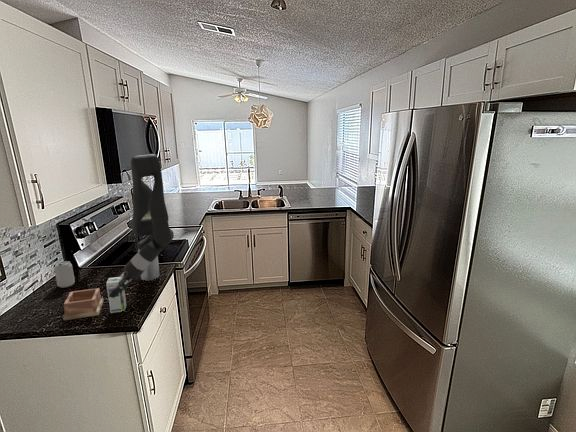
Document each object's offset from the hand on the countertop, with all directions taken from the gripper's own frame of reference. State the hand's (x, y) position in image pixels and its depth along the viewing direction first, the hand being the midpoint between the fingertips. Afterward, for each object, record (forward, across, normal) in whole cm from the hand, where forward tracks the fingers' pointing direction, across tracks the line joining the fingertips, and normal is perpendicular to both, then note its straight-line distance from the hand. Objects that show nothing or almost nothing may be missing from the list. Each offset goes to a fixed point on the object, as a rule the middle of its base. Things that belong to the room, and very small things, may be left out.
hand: (112, 292), depth 146 cm
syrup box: (+5, 0, +7) cm, 9 cm away
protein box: (0, -159, +13) cm, 159 cm away
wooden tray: (+15, -4, -3) cm, 16 cm away
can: (+25, -34, -13) cm, 44 cm away
